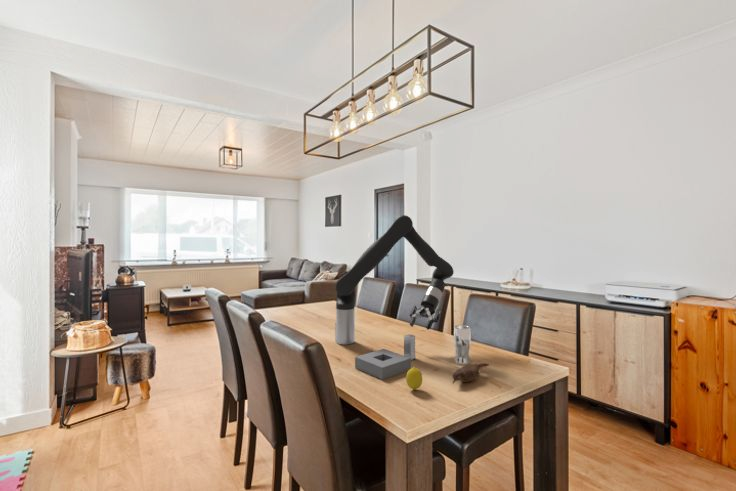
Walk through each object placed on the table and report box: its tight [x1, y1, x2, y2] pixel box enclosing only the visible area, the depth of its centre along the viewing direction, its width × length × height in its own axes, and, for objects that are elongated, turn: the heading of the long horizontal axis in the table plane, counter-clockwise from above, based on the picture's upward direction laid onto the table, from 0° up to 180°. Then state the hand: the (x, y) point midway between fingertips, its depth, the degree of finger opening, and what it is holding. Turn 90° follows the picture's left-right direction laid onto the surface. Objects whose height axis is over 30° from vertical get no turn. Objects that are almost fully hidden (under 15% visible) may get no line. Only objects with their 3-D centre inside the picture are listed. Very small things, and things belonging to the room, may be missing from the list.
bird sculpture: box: [452, 362, 490, 384], centre depth 133 cm, size 7×25×5 cm, turn 134°
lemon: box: [405, 366, 423, 391], centre depth 124 cm, size 6×6×8 cm
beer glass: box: [453, 324, 472, 366], centre depth 151 cm, size 7×7×15 cm
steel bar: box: [403, 333, 416, 361], centre depth 156 cm, size 4×4×10 cm
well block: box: [354, 348, 412, 381], centre depth 144 cm, size 16×16×4 cm
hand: (419, 327), depth 162 cm, fingers open, 8 cm apart
